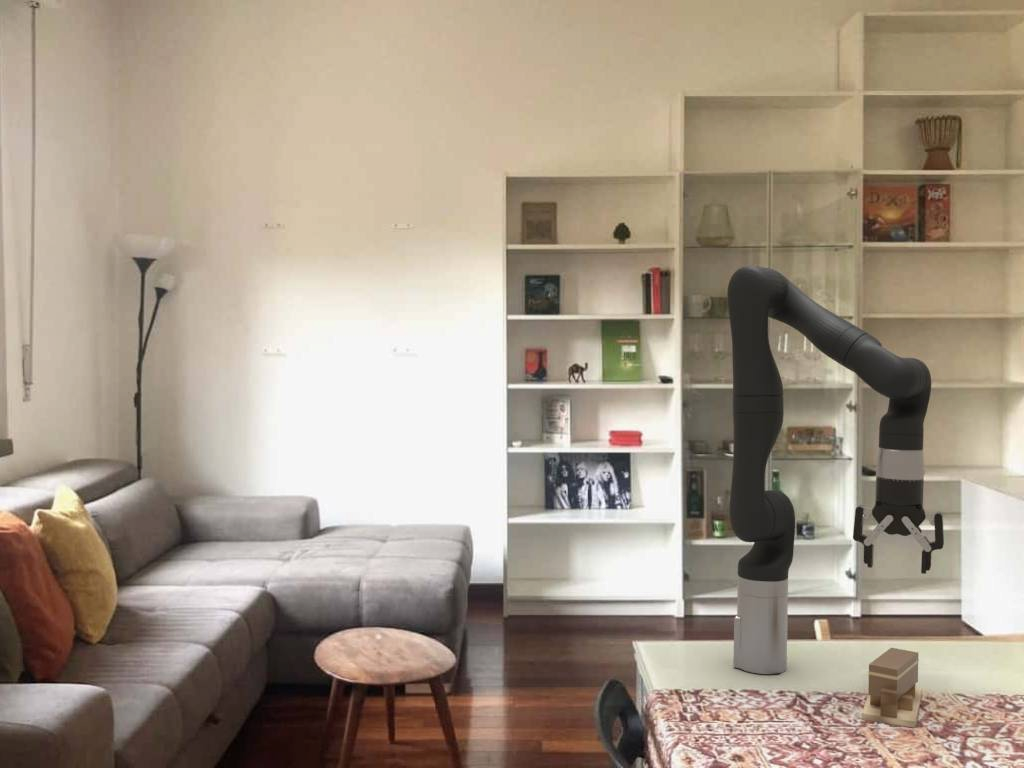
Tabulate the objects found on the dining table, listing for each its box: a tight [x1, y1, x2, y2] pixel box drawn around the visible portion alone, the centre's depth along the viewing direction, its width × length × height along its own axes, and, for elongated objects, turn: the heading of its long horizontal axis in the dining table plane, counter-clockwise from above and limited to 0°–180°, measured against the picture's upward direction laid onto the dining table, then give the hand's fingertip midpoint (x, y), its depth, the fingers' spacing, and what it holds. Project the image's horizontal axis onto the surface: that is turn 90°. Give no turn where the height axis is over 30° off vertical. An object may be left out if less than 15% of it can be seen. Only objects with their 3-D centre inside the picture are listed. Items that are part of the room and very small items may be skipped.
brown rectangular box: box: [867, 647, 920, 699], centre depth 162 cm, size 5×12×5 cm, turn 142°
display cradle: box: [861, 683, 923, 729], centre depth 163 cm, size 8×18×5 cm, turn 154°
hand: (896, 569), depth 166 cm, fingers open, 8 cm apart
